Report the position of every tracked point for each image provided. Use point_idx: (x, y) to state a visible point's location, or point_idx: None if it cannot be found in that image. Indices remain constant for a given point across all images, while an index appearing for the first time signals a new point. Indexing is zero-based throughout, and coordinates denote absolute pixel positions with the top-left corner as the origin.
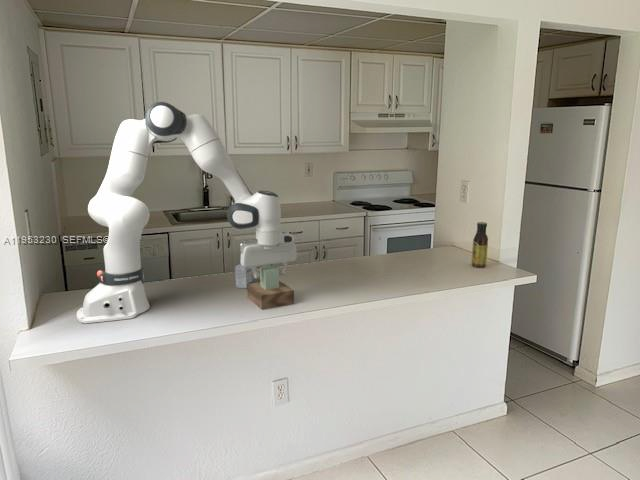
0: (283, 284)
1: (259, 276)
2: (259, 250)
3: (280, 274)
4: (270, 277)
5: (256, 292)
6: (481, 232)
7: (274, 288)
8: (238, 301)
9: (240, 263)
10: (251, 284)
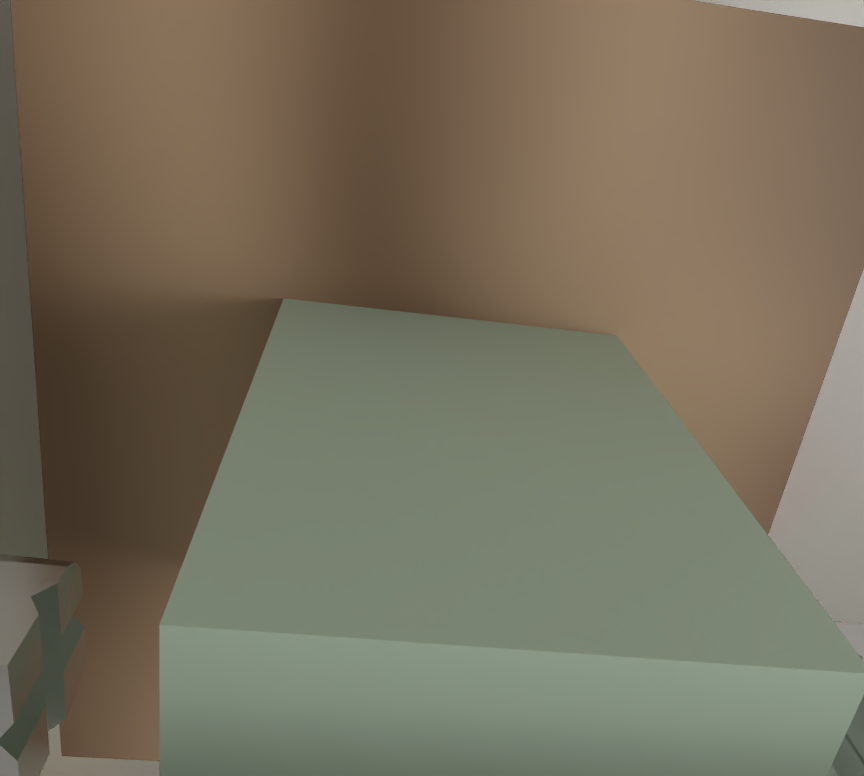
0: (77, 449)
1: (851, 641)
2: None
3: (79, 580)
4: (553, 463)
5: (817, 358)
6: None
7: (400, 315)
8: (798, 555)
9: None
10: None
